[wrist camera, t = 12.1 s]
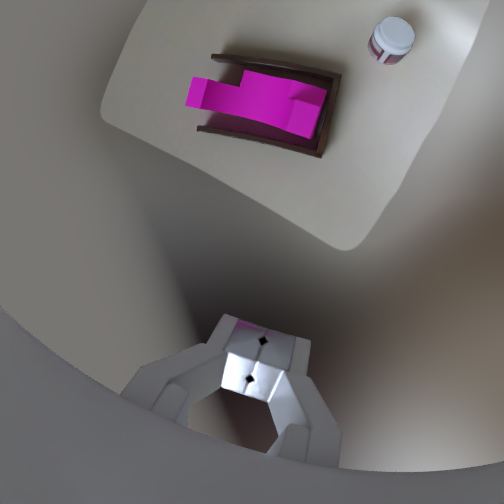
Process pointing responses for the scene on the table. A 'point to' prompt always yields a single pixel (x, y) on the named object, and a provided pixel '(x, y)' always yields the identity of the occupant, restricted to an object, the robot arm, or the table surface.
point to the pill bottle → (391, 40)
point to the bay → (290, 68)
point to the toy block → (262, 101)
